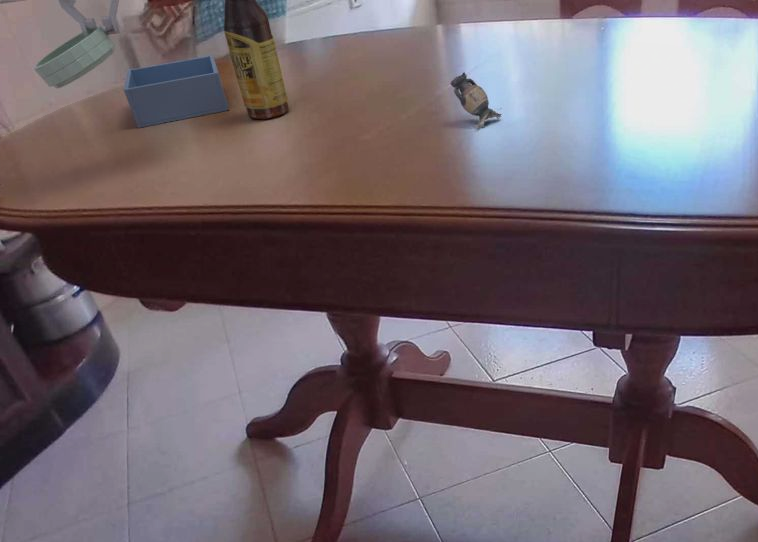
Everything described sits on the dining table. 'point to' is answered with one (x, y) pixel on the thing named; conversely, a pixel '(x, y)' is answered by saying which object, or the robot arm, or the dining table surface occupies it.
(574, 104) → the dining table surface
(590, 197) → the dining table surface
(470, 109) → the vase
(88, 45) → the mint green bowl
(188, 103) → the tub
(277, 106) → the sauce bottle
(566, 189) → the dining table surface
